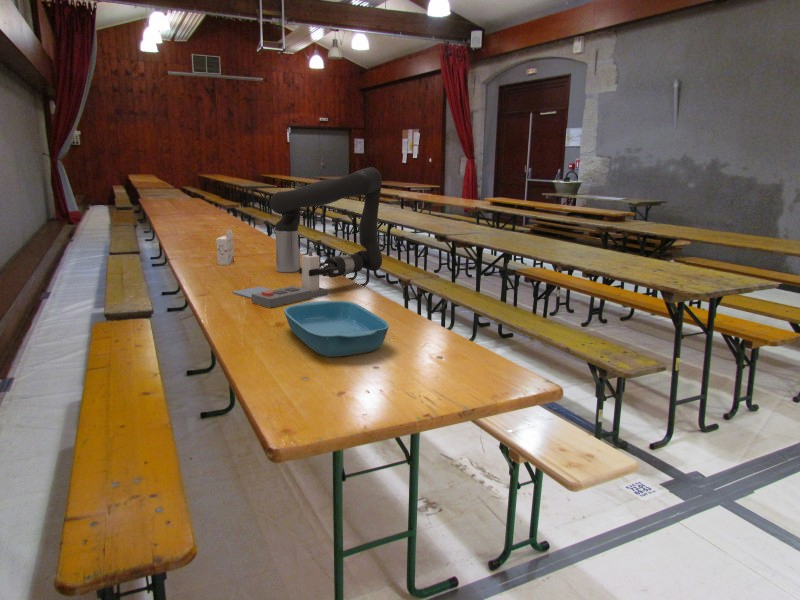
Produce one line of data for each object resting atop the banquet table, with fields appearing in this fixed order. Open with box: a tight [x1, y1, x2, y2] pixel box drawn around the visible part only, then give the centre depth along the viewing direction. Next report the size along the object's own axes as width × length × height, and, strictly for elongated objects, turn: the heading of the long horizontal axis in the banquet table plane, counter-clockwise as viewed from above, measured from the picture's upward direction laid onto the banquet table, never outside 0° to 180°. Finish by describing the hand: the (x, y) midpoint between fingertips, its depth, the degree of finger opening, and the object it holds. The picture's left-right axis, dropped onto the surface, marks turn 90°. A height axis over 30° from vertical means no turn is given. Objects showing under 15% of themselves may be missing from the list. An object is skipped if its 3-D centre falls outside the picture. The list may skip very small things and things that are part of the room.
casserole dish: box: [283, 300, 390, 358], centre depth 154 cm, size 37×22×7 cm, turn 28°
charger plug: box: [301, 249, 320, 292], centre depth 200 cm, size 4×4×15 cm
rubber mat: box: [231, 286, 272, 299], centre depth 201 cm, size 12×12×1 cm
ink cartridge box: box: [215, 229, 235, 266], centre depth 250 cm, size 9×5×15 cm, turn 179°
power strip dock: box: [251, 285, 328, 309], centre depth 195 cm, size 26×9×4 cm, turn 141°
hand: (304, 272), depth 198 cm, fingers closed on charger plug, 4 cm apart
